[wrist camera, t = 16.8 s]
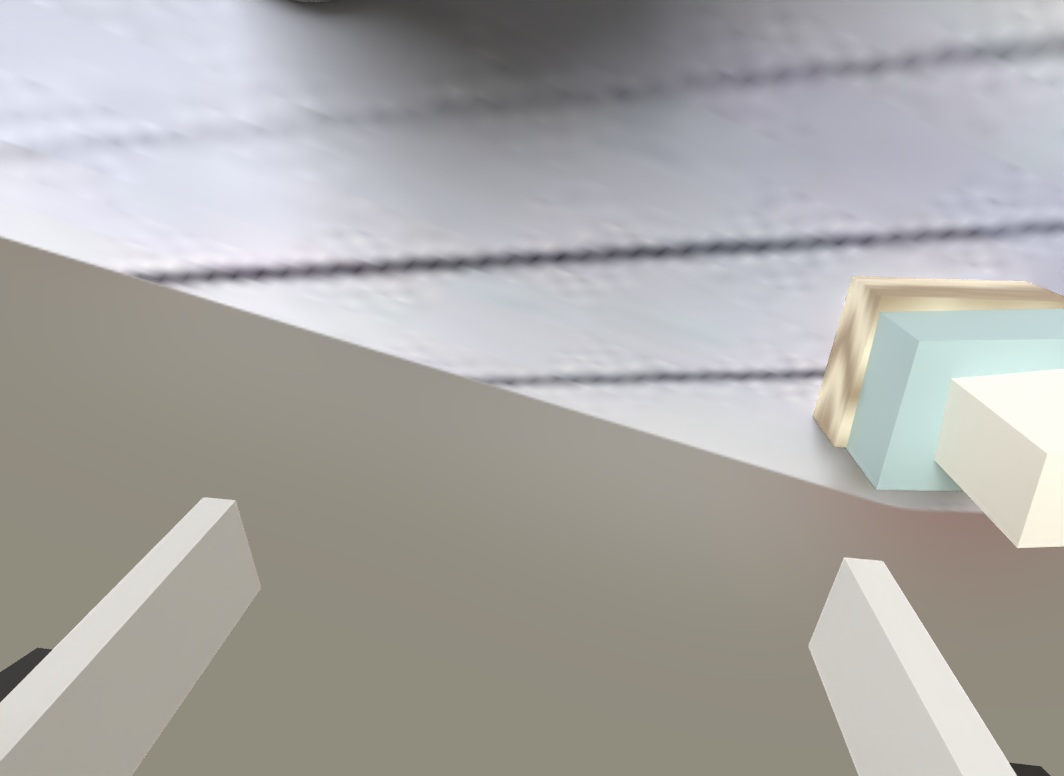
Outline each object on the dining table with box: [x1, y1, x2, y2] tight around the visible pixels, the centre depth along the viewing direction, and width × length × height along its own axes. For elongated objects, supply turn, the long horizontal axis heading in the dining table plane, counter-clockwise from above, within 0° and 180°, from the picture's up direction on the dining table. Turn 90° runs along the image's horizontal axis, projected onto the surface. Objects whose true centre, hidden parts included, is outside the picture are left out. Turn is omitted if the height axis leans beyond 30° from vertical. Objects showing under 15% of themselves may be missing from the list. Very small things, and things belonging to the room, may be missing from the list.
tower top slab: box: [846, 308, 1064, 491], centre depth 36 cm, size 11×11×5 cm
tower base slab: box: [813, 276, 1064, 448], centre depth 40 cm, size 12×12×5 cm
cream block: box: [934, 369, 1064, 548], centre depth 30 cm, size 6×6×8 cm
